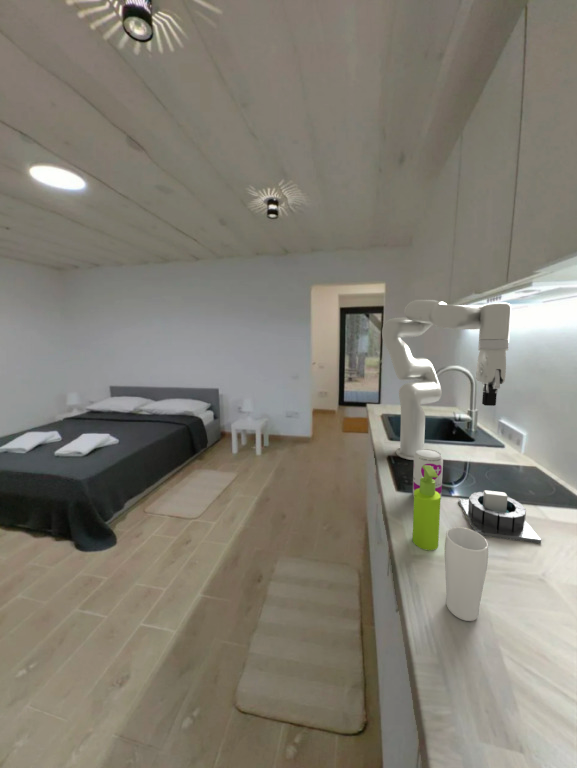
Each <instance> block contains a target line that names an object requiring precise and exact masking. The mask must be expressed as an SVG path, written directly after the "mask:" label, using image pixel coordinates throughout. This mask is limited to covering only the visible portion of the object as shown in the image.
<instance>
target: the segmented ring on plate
mask: <svg viewBox="0 0 577 768" xmlns="http://www.w3.org/2000/svg"><path fill="white" fill-rule="evenodd" d="M483 495H484V491H478V492H473V493H471V494H470V496H469V498H468V499H464V498H463V499H462V498H458V503H459V505H460V508H461V509H462V511H463V513H464V515H465V517H466V519H467V520H468V522H469V524H470V526H471V528H472V530H473V531H475V532H477V533H479V534H481V535H482V536H483V537H484V538H485V537H487V538H495V539H503V540H510V541H520V542H528V543H534V544H542V539H541V537H540V536H539V535H538V534H537V533H536V531H534V529H533V528H532V526H531V525H530V524H529V523H528V522H527V521H526V515H527V509H526V508H525V507H524V505H522V503H521V502H519V501H517V500H516V499H514V498H512V497H510V496H508V498H507V510H508V511H509V513H503V512H497V511H494V510H490V509H488V508H486V507H484V506H483V505H481V504H483Z"/></svg>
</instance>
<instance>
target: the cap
mask: <svg viewBox="0 0 577 768" xmlns="http://www.w3.org/2000/svg"><path fill="white" fill-rule="evenodd" d="M483 492H484V495H483V504H481V505H483V506H484V507H486V508H488V509H490V510H494V511H497V512H503V513H509V511H508V510H507V498H508V497H509V496H508V495H507V493H506V492H503V491H494V490H483Z"/></svg>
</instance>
